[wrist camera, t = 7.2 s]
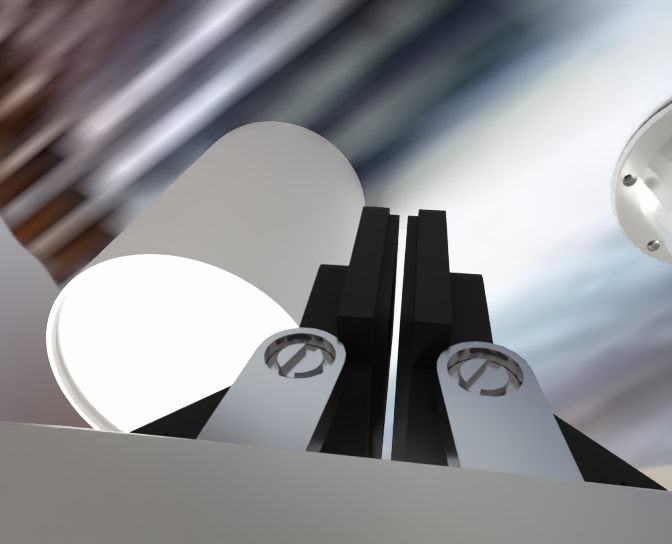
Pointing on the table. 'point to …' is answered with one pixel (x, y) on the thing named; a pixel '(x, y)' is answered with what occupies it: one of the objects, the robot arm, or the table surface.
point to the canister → (204, 275)
